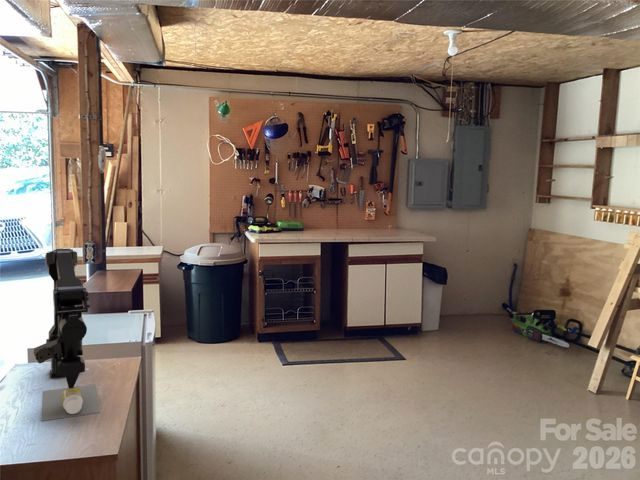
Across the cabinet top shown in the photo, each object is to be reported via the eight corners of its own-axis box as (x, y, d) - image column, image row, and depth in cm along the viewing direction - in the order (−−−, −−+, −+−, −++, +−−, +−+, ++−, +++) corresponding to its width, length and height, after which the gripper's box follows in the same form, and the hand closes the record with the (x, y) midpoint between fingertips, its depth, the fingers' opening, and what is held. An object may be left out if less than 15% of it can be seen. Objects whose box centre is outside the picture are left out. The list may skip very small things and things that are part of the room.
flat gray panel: (42, 391, 151) (42, 391, 151) (95, 385, 158) (95, 384, 158) (41, 421, 134) (41, 420, 134) (100, 412, 140) (100, 411, 140)
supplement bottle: (71, 406, 145) (73, 419, 138) (57, 397, 143) (59, 409, 135) (84, 392, 146) (87, 404, 139) (71, 383, 144) (73, 394, 137)
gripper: (36, 324, 143) (37, 379, 144) (34, 344, 126) (35, 406, 128) (81, 320, 148) (82, 374, 149) (84, 340, 131) (85, 399, 133)
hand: (70, 387), depth 140 cm, fingers closed
